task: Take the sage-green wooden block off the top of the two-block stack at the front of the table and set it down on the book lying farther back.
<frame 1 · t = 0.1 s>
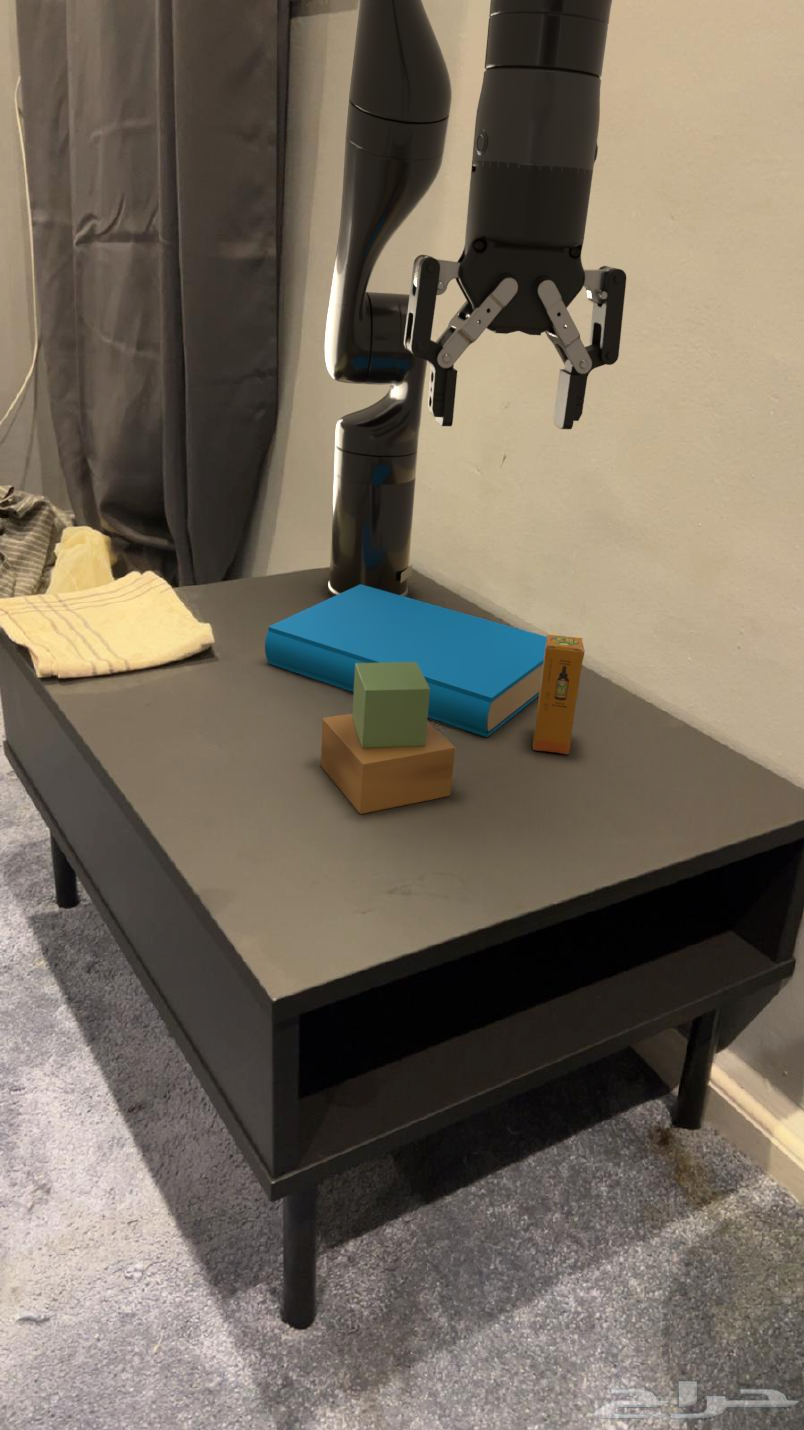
hand: (503, 425, 72), 29 cm above the table, tool pointing down, fingers open, 8 cm apart
book: (414, 673, 106), on the table
supplement box: (550, 746, 94), on the table
green block: (387, 732, 84), point 4 cm above the table, touching oak block
oak block: (384, 780, 86), on the table, touching green block
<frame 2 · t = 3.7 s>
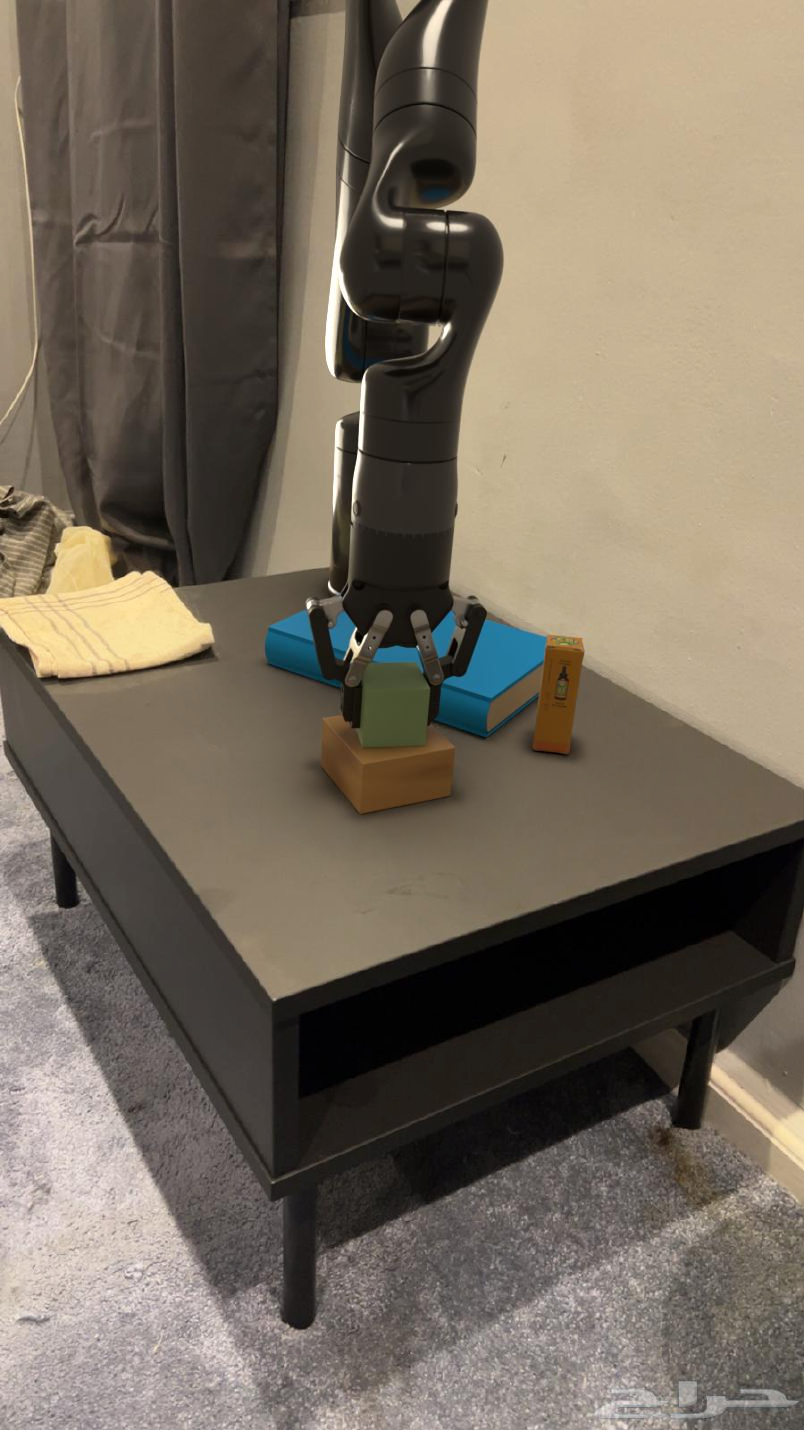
hand: (388, 722, 83), 5 cm above the table, tool pointing down, fingers closed on green block, 5 cm apart
green block: (387, 732, 84), point 4 cm above the table, touching gripper, oak block
everything else where it was.
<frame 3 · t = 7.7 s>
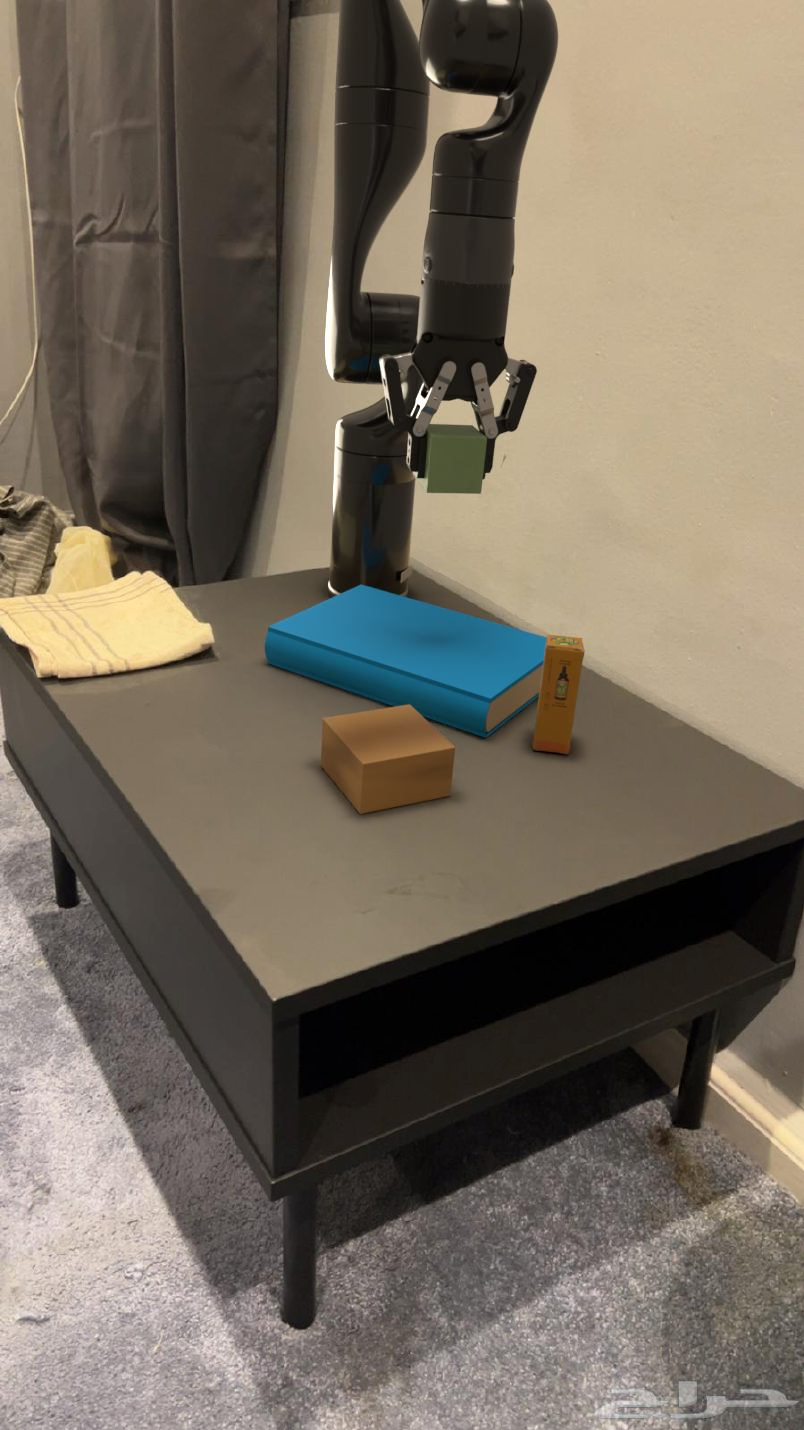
hand: (448, 476, 95), 20 cm above the table, tool pointing down, fingers closed on green block, 5 cm apart
green block: (447, 485, 96), point 19 cm above the table, touching gripper
oak block: (384, 780, 86), on the table
everything else where it was.
when the fingers open (5 cm above the table, at t = 11.7 s): green block stays where it is, resting on book.
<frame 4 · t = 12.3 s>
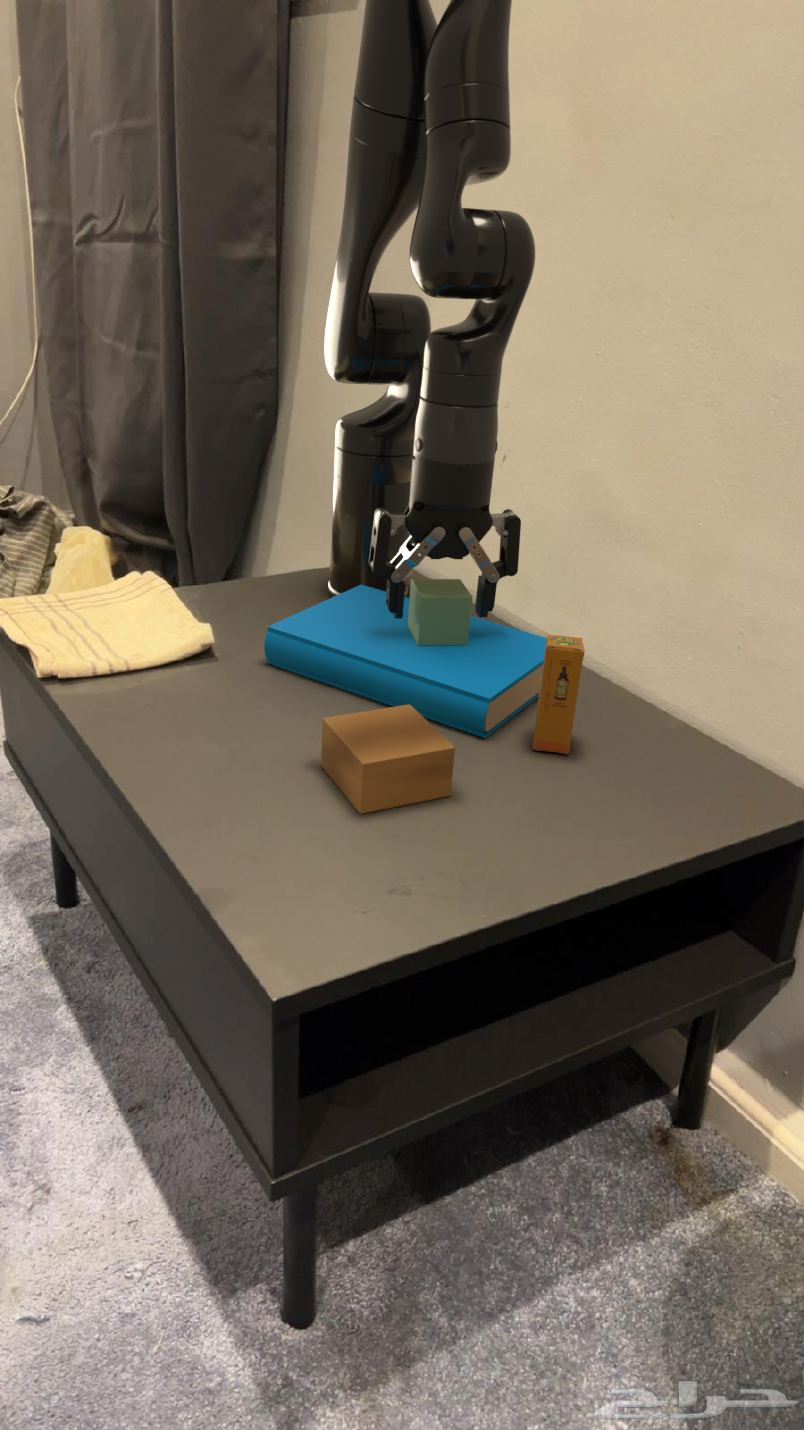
hand: (438, 615, 103), 6 cm above the table, tool pointing down, fingers open, 8 cm apart
book: (413, 673, 106), on the table, touching green block
green block: (437, 635, 104), point 4 cm above the table, touching book
everything else where it was.
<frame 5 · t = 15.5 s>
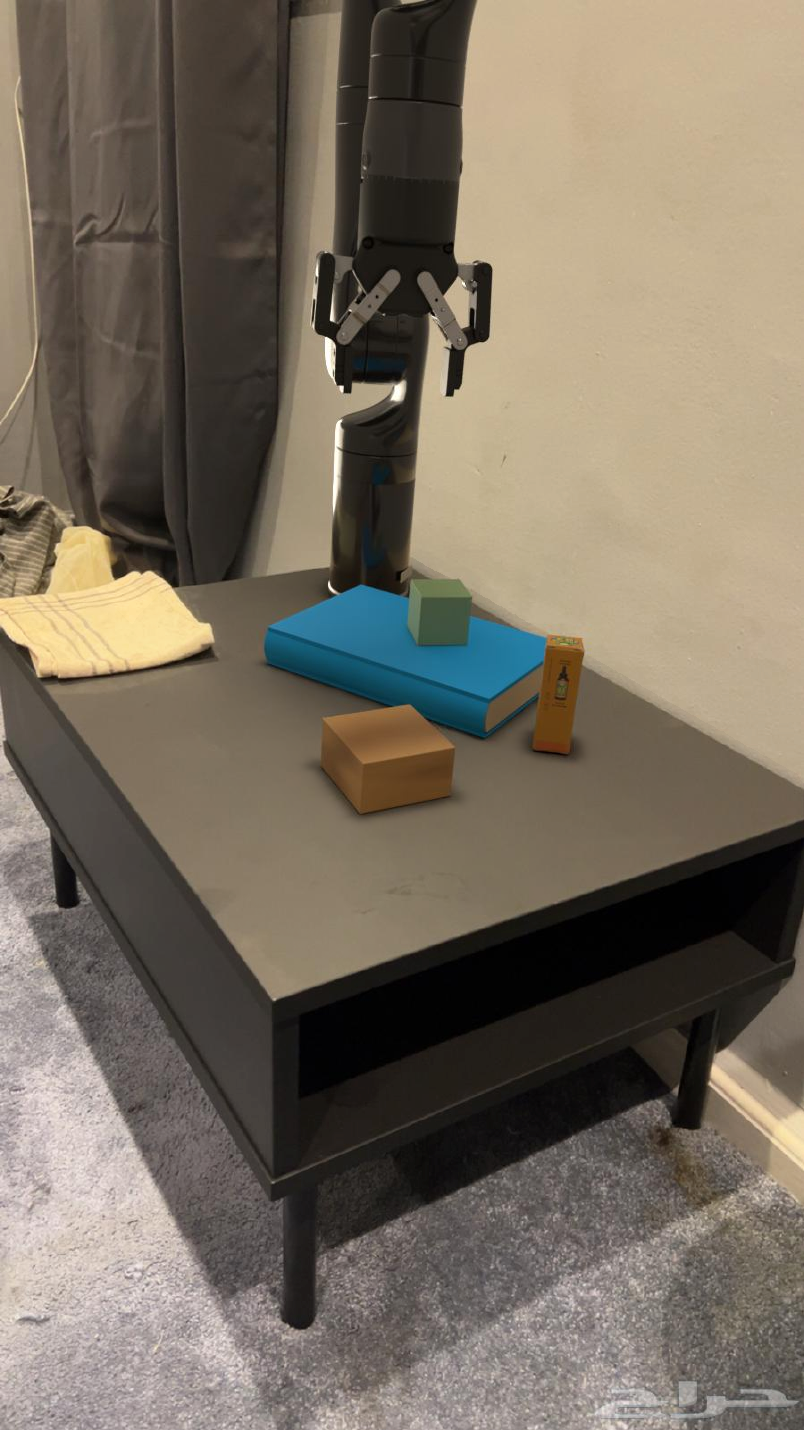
hand: (396, 393, 87), 28 cm above the table, tool pointing down, fingers open, 8 cm apart
nothing on the table moved.
at the end: green block inside the target area on the book (1.0 cm from its centre), point 4.1 cm above the book's base; green block tilted 0°; oak block moved 0.0 cm from its start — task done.
